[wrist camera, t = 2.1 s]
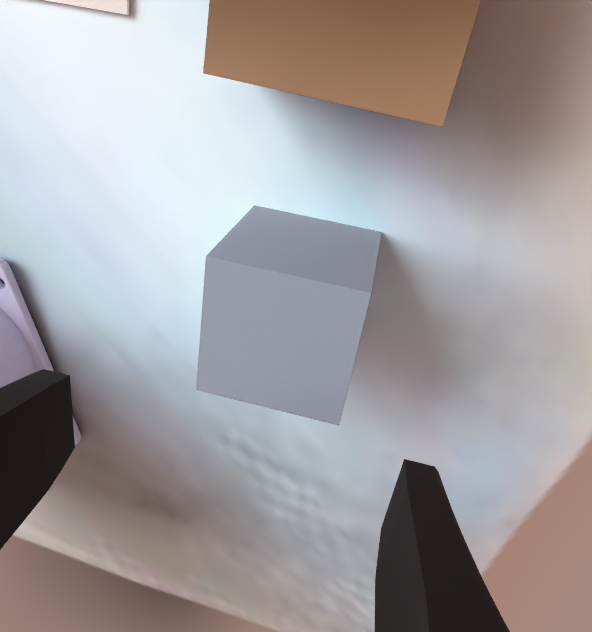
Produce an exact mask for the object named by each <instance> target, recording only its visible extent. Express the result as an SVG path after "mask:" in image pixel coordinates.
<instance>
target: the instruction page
mask: <svg viewBox="0 0 592 632" xmlns="http://www.w3.org/2000/svg"><path fill="white" fill-rule="evenodd" d="M46 1H52V2H57V3H63V4H69V5H74V6H80V7H86V8H91V9H97V10H102V11H108V12H114V13H119V14H125V15H129V0H46Z"/></svg>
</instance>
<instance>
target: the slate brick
mask: <svg viewBox="0 0 592 632" xmlns="http://www.w3.org/2000/svg"><path fill="white" fill-rule="evenodd" d="M381 235H382V232H379V231H374V230H369V229H364V228H359V227H355V226H350V225H345V224H340V223H336V222H331V221H326V220H321V219H317V218H312V217H307V216H302V215H297V214H293V213H288V212H283V211H278V210H274V209H269V208H264V207H259V206H255V205H254V207H253V208H252V209H251V210H250V211H249V212H248V213H247V214H246V215H245V216H244V217H243V218H242V219H241V220H240V221H239V222H238V223H237V224H236V225H235V226H234V228H233V229H232V230H231V231H230V232H229V233H228V234H227V235H226V236H225V237H224V238H223V239H222V240H221V241H220V242H219V243H218V244H217V245H216V246H215V247H214V248H213V250H212V251H211V252H210V253H209V254H208V255H207V256H206V263H205V277H204V291H203V305H202V319H201V333H200V347H199V361H198V375H197V389H196V390H199V391H203V392H207V393H211V394H215V395H219V396H223V397H227V398H231V399H235V400H239V401H243V402H247V403H251V404H255V405H259V406H263V407H267V408H271V409H275V410H279V411H283V412H287V413H291V414H295V415H299V416H303V417H307V418H311V419H315V420H319V421H323V422H327V423H331V424H335V425H339V423H340V419H341V415H342V411H343V407H344V403H345V399H346V395H347V391H348V386H349V382H350V378H351V374H352V370H353V366H354V362H355V358H356V354H357V350H358V346H359V342H360V338H361V333H362V329H363V325H364V321H365V317H366V313H367V309H368V305H369V301H370V297H371V292H372V287H373V281H374V275H375V269H376V263H377V258H378V252H379V246H380V240H381Z"/></svg>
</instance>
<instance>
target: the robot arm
mask: <svg viewBox="0 0 592 632" xmlns="http://www.w3.org/2000/svg"><path fill="white" fill-rule="evenodd" d="M0 278H1V279H2V280H3V281H4V282H5V284H4V283H2V281H1V280H0V549H1V548H2V547H3V546H4V544H5V543H6V542H7V541H8V539H9V538H10V537H11V536H12V535H13V533H14V532H15V531H16V530H17V528H18V527H19V526H20V525H21V524H22V522H23V521H24V520H25V519H26V517H27V516H28V515H29V514H30V512H31V511H32V510H33V509H34V507H35V506H36V505H37V504H38V502H39V501H40V500H41V499H42V497H43V496H44V495H45V494H46V492H47V491H48V490H49V488H50V487H51V485H52V484H53V482H54V481H55V479H56V478H57V476H58V474H59V473H60V471H61V470H62V468H63V466H64V465H65V463H66V461H67V460H68V458H69V456H70V455H71V453H72V451H73V450H74V448H75V446H76V445H77V444H78V443H79V442H80V440H81V434H80V431H79V429H78V427H77V424H76V422H75V420H74V417H73V414H72V401H71V388H70V375H66V374H62V373H58V372H54V370H53V367H52V365H51V363H50V360H49V358H48V356H47V353H46V351H45V348H44V346H43V344H42V341H41V339H40V337H39V334H38V332H37V329H36V327H35V325H34V322H33V320H32V318H31V315H30V313H29V310H28V308H27V306H26V303H25V301H24V299H23V296H22V294H21V292H20V289H19V287H18V284H17V282H16V280H15V277H14V275H13V273H12V270H11V268H10V266H9V264H8V263H7V262H6V261H5V260H4V259H2V258H0ZM375 632H510V631H509V630H508V628H507V626H506V624H505V622H504V620H503V618H502V617H501V615H500V612H499V611H498V609H497V607H496V605H495V603H494V601H493V599H492V597H491V596H490V593H489V591H488V589H487V587H486V585H485V583H484V581H483V579H482V577H481V575H480V573H479V571H478V568H477V566H476V564H475V562H474V560H473V557H472V555H471V553H470V551H469V549H468V546H467V544H466V542H465V540H464V537H463V535H462V533H461V530H460V528H459V526H458V523H457V521H456V518H455V516H454V513H453V511H452V508H451V506H450V503H449V500H448V498H447V495H446V492H445V489H444V487H443V484H442V481H441V478H440V475H439V472H438V471H437V469H436V468H435V467H434V466H430V465H426V464H422V463H418V462H414V461H410V460H406V459H404V462H403V465H402V468H401V471H400V474H399V477H398V480H397V483H396V486H395V489H394V492H393V495H392V498H391V501H390V504H389V507H388V510H387V513H386V516H385V519H384V522H383V525H382V528H381V535H380V543H379V551H378V560H377V569H376V578H375Z"/></svg>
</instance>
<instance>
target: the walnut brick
mask: <svg viewBox="0 0 592 632" xmlns="http://www.w3.org/2000/svg"><path fill="white" fill-rule="evenodd" d="M480 3H481V0H210V3H209V15H208V26H207V37H206V49H205V60H204V71H203V73H205V74H209V75H214V76H218V77H223V78H227V79H231V80H236V81H240V82H245V83H249V84H254V85H258V86H263V87H267V88H272V89H276V90H280V91H285V92H289V93H294V94H298V95H303V96H307V97H312V98H316V99H321V100H325V101H329V102H334V103H338V104H343V105H347V106H352V107H356V108H361V109H365V110H370V111H374V112H378V113H383V114H387V115H392V116H396V117H401V118H405V119H410V120H414V121H419V122H423V123H427V124H432V125H436V126H441V127H443V123H444V120H445V117H446V114H447V110H448V107H449V104H450V100H451V97H452V94H453V91H454V87H455V84H456V81H457V78H458V74H459V71H460V68H461V65H462V61H463V58H464V55H465V51H466V48H467V45H468V42H469V38H470V35H471V32H472V29H473V25H474V22H475V19H476V16H477V12H478V9H479V6H480Z"/></svg>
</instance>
